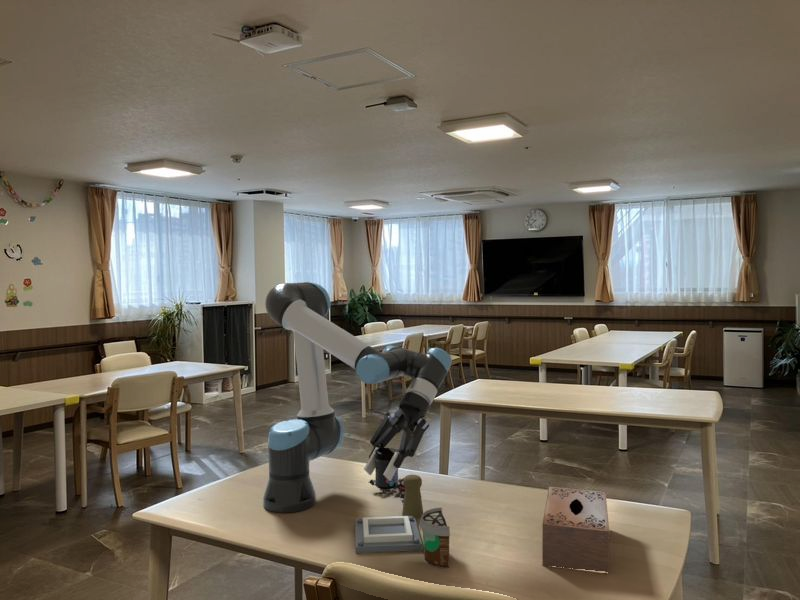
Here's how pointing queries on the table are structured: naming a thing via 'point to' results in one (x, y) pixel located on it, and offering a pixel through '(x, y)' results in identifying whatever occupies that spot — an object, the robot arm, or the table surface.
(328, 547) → the table surface
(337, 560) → the table surface
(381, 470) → the supplement container
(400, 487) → the toy collection
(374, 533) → the base plate
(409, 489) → the cork
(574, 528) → the tissue box cover
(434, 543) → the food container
